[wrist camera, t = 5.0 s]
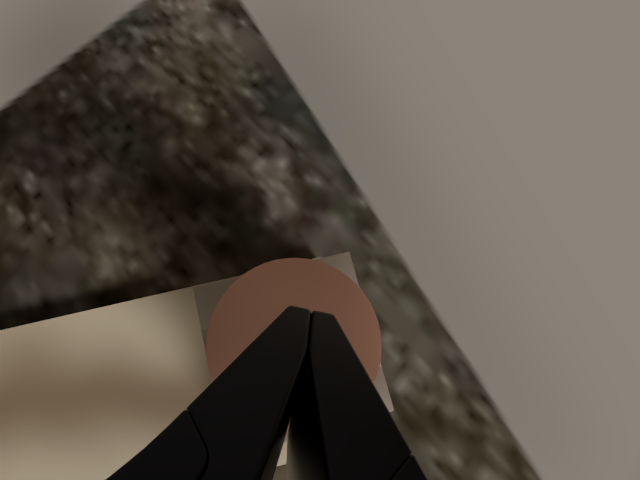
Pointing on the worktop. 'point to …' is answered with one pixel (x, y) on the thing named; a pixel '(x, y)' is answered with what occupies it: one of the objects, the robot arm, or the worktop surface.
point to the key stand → (109, 381)
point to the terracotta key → (290, 290)
